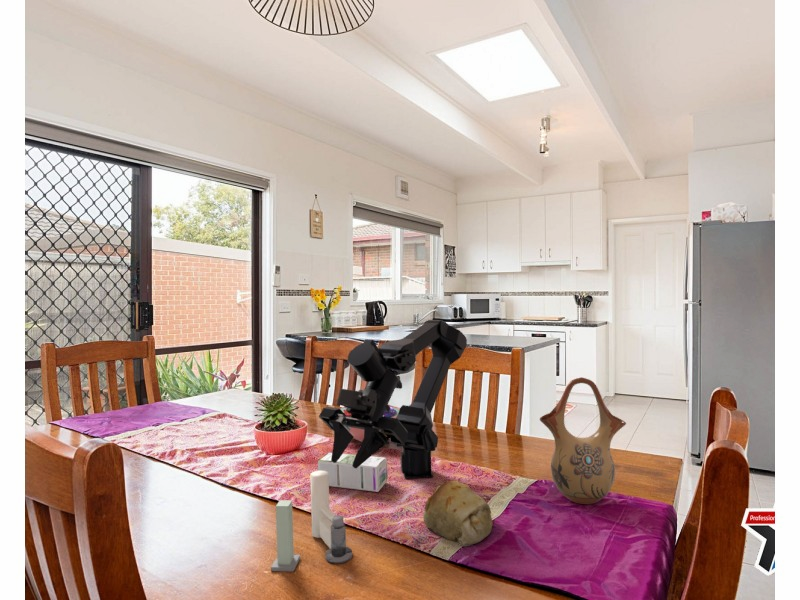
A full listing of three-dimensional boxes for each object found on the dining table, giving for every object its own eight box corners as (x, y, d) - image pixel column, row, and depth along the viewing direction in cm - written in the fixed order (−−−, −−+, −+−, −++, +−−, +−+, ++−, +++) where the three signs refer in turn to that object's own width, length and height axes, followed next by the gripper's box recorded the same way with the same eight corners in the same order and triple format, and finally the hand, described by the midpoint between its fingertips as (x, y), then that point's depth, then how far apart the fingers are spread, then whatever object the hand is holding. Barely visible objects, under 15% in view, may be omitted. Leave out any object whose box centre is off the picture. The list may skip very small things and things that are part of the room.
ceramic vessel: (541, 507, 95) (540, 381, 94) (539, 487, 104) (538, 372, 103) (631, 514, 92) (631, 383, 91) (621, 493, 101) (620, 374, 100)
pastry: (422, 509, 96) (422, 469, 96) (486, 508, 96) (485, 468, 95) (424, 548, 82) (423, 501, 82) (498, 548, 82) (498, 501, 81)
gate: (349, 554, 80) (348, 490, 79) (331, 560, 78) (330, 494, 78) (326, 526, 89) (324, 469, 88) (309, 531, 87) (307, 473, 87)
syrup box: (317, 485, 108) (378, 494, 103) (317, 459, 107) (378, 466, 103) (329, 475, 113) (388, 482, 108) (328, 450, 113) (387, 457, 108)
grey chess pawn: (352, 547, 82) (351, 518, 82) (352, 562, 78) (351, 532, 78) (325, 549, 82) (325, 520, 82) (324, 565, 77) (323, 534, 77)
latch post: (278, 557, 80) (276, 497, 79) (300, 558, 79) (298, 498, 79) (270, 570, 76) (269, 508, 76) (293, 571, 76) (291, 508, 75)
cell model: (362, 426, 151) (361, 390, 151) (415, 437, 139) (414, 398, 139) (323, 441, 137) (322, 402, 137) (378, 455, 126) (377, 412, 125)
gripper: (323, 367, 101) (285, 435, 92) (398, 376, 90) (362, 453, 81) (349, 397, 107) (315, 462, 99) (421, 408, 97) (390, 482, 88)
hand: (343, 464), depth 92 cm, fingers open, 5 cm apart
